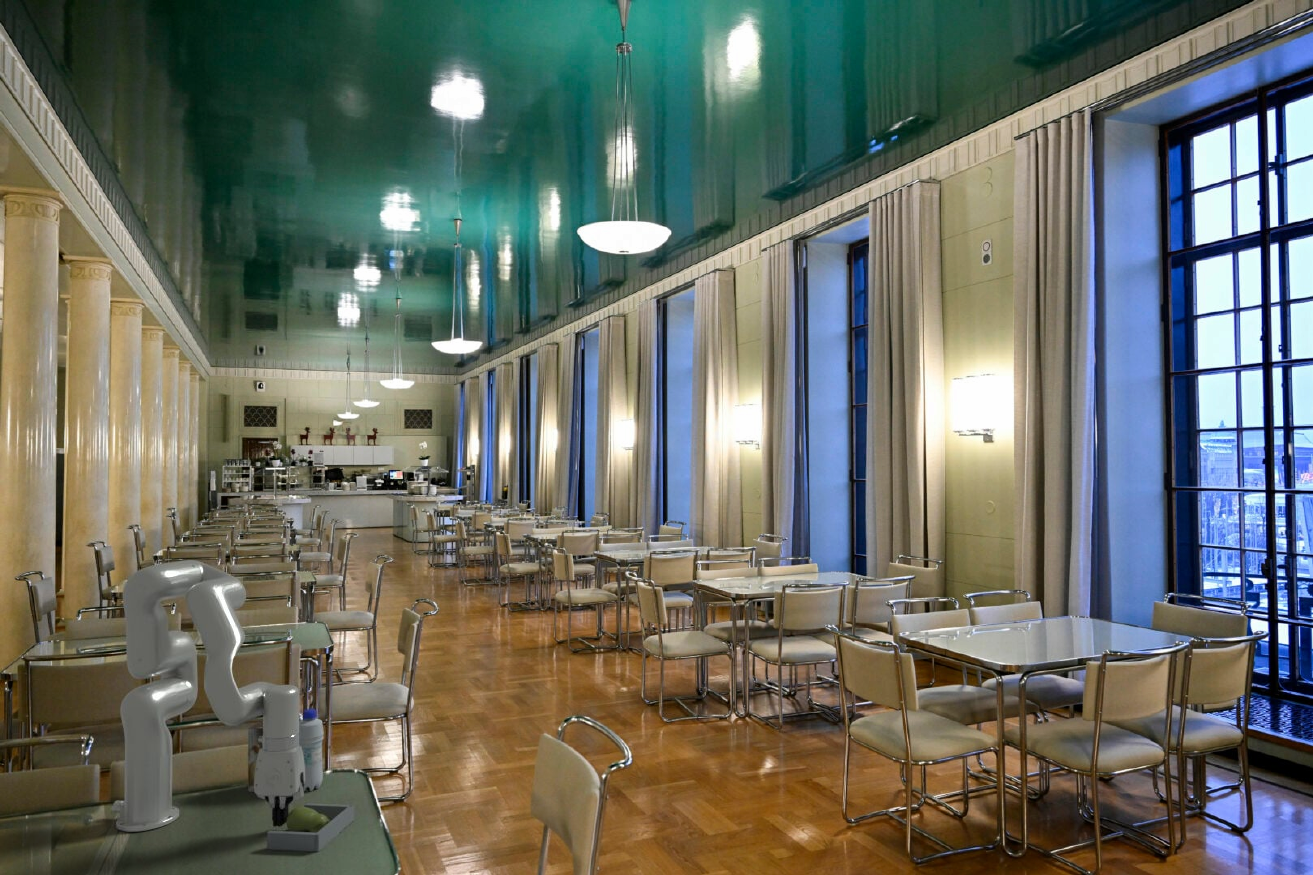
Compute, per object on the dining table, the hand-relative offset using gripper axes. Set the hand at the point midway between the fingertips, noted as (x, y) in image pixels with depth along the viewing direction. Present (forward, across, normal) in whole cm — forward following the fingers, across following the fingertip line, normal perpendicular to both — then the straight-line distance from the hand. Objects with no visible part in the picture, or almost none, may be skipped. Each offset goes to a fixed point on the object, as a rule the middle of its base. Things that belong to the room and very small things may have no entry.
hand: (280, 823), depth 191 cm
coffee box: (+2, -17, +24) cm, 29 cm away
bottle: (+2, -7, +25) cm, 26 cm away
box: (+2, +8, -1) cm, 8 cm away
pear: (+2, +7, 0) cm, 7 cm away
